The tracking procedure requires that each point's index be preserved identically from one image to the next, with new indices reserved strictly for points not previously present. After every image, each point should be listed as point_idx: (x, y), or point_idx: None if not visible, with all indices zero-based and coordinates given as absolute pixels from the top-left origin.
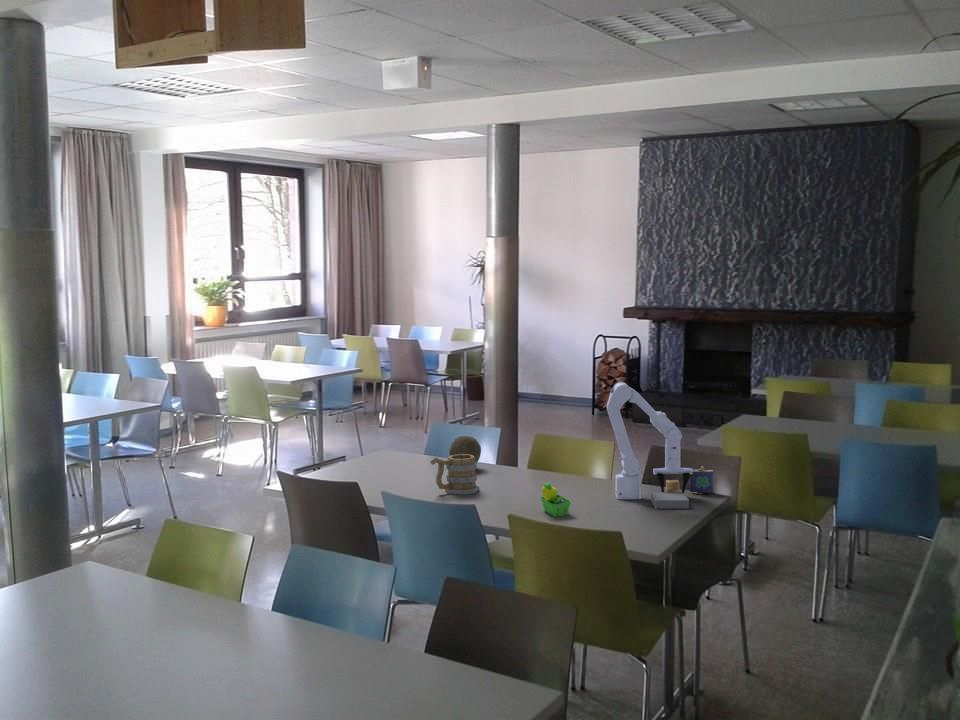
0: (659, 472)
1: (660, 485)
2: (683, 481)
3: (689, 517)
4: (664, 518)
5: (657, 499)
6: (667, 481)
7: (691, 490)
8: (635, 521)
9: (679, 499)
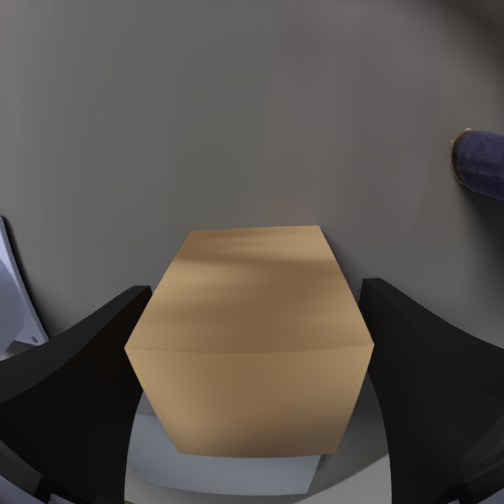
0: (24, 501)
1: (90, 326)
2: (388, 450)
3: (276, 497)
4: (200, 496)
5: (154, 480)
6: (164, 414)
7: (474, 183)
8: (131, 489)
9: (262, 491)
